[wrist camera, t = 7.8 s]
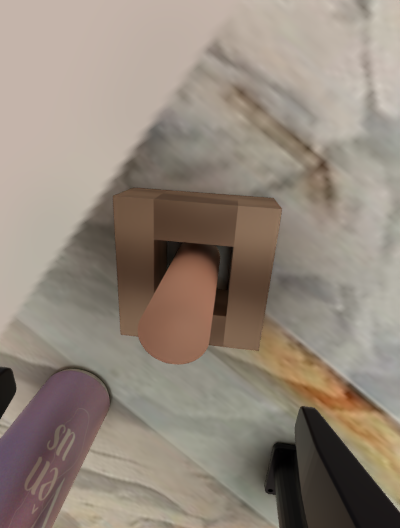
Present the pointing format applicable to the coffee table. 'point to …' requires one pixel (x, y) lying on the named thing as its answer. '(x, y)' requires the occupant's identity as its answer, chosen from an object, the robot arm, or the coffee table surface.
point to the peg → (182, 306)
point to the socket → (202, 232)
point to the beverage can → (49, 448)
